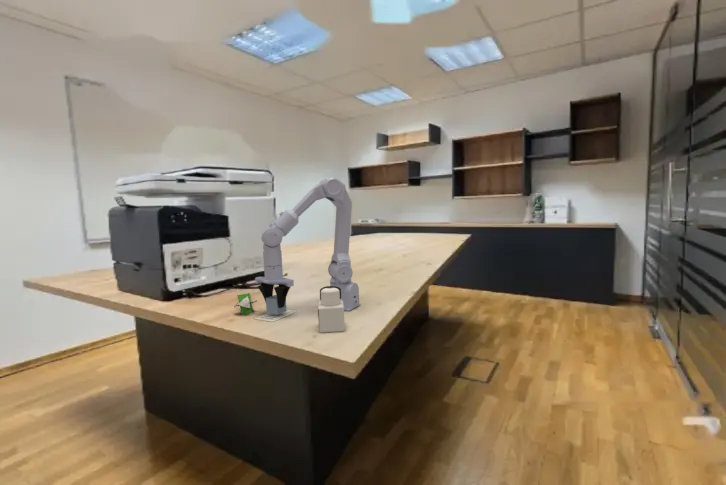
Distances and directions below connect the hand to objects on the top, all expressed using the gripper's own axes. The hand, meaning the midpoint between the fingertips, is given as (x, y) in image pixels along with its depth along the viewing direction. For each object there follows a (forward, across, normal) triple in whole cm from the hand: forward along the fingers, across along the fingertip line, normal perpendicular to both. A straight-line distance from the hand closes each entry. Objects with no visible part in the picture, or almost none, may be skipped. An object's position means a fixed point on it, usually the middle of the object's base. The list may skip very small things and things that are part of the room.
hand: (275, 306), depth 119 cm
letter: (+3, 0, 0) cm, 3 cm away
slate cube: (+2, 0, 0) cm, 2 cm away
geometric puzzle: (+3, -11, -2) cm, 12 cm away
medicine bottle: (+3, +24, -4) cm, 24 cm away
